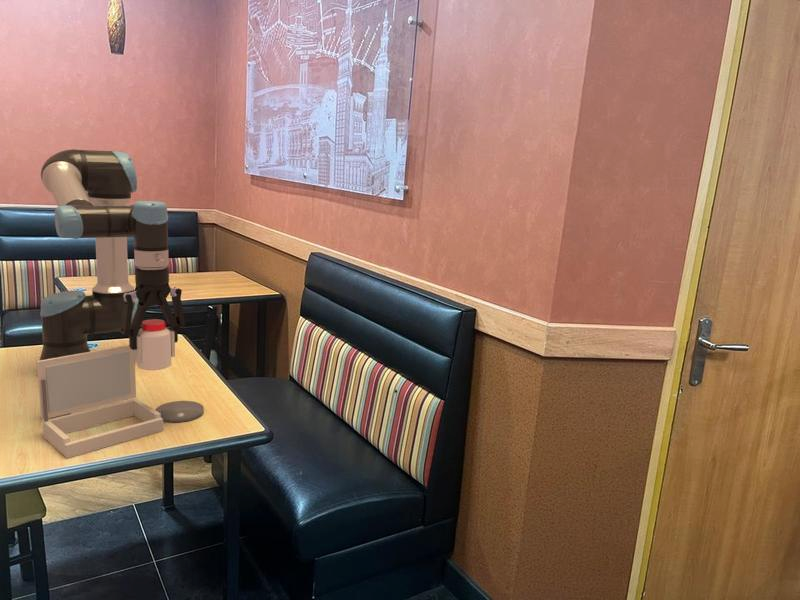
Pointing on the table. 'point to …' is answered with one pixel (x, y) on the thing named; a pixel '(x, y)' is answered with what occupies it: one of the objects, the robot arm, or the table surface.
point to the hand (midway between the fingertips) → (154, 358)
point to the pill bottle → (155, 345)
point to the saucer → (180, 411)
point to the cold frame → (92, 399)
